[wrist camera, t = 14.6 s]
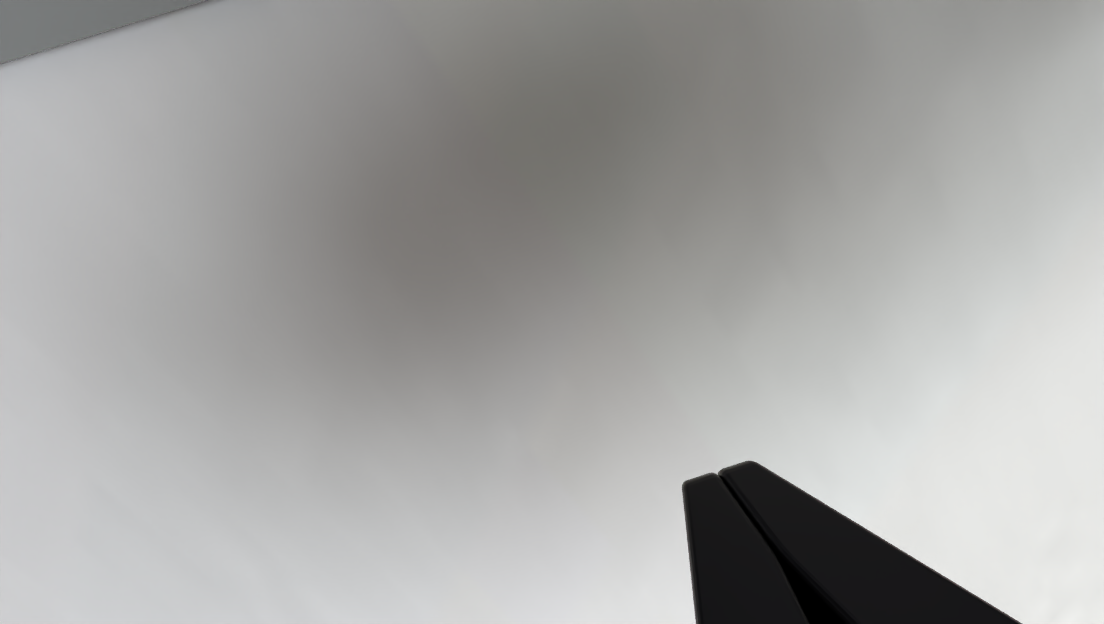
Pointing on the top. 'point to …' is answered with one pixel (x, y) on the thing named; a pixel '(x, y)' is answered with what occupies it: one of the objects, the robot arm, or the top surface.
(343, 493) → the top surface
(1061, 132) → the top surface
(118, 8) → the slate mat
